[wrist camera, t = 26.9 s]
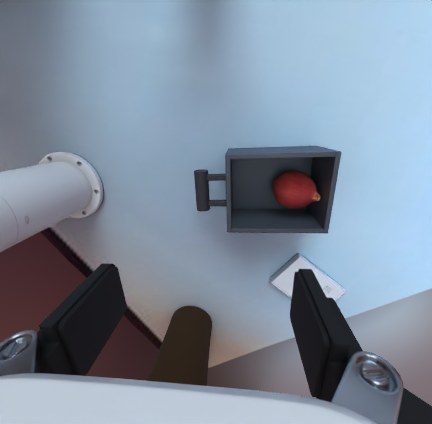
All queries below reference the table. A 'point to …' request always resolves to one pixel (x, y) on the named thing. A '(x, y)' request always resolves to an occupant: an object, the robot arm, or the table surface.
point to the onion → (295, 189)
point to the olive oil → (184, 349)
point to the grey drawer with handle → (263, 193)
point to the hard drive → (286, 274)
